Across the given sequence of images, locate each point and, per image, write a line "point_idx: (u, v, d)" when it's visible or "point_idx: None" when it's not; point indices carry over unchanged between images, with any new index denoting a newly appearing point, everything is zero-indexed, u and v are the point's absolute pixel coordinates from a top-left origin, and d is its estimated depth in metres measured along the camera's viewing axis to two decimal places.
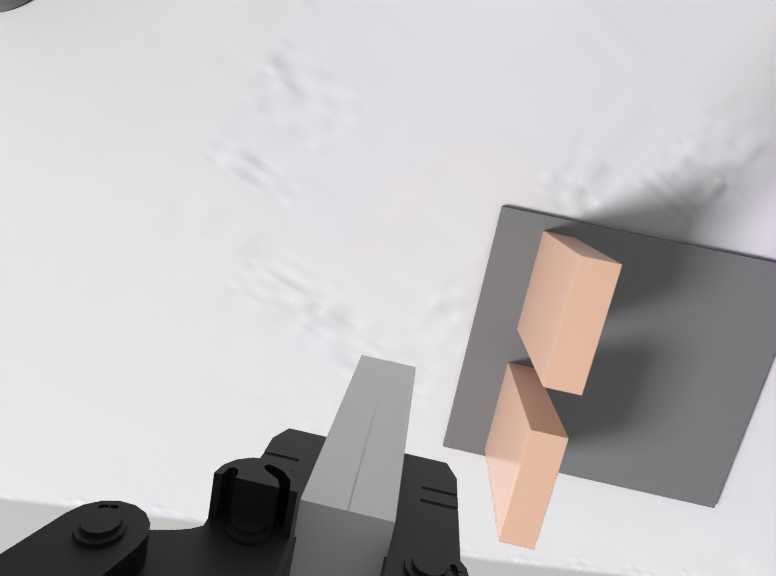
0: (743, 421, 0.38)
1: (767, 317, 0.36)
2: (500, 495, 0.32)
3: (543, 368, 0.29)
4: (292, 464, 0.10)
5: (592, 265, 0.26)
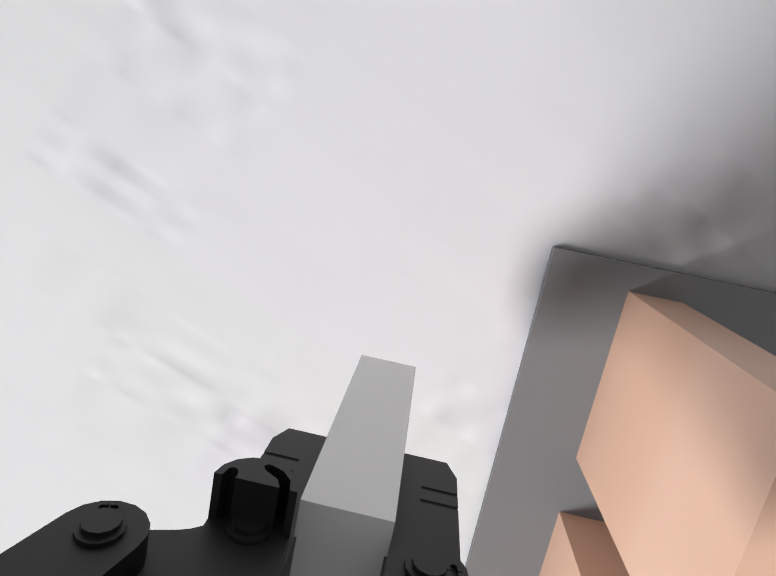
0: None
1: None
2: None
3: None
4: (292, 464, 0.10)
5: None
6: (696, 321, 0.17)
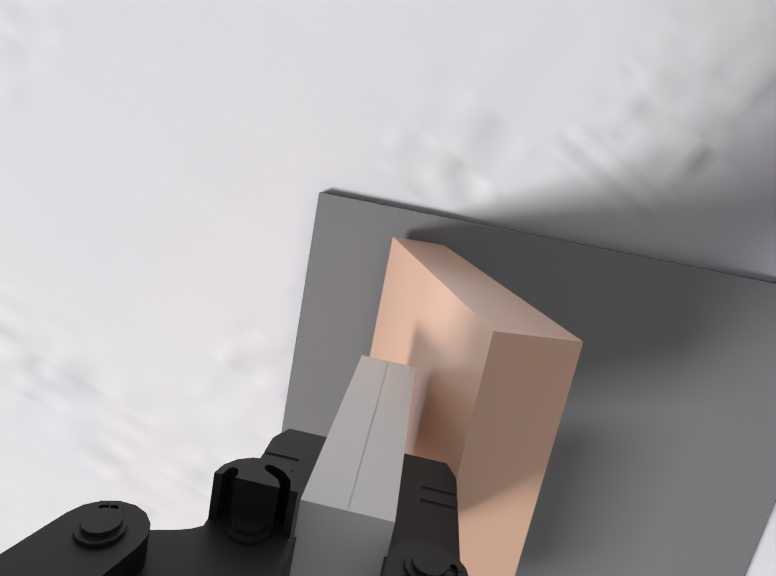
0: (744, 555, 0.22)
1: None
2: None
3: None
4: (292, 464, 0.10)
5: (519, 350, 0.11)
6: (444, 260, 0.17)
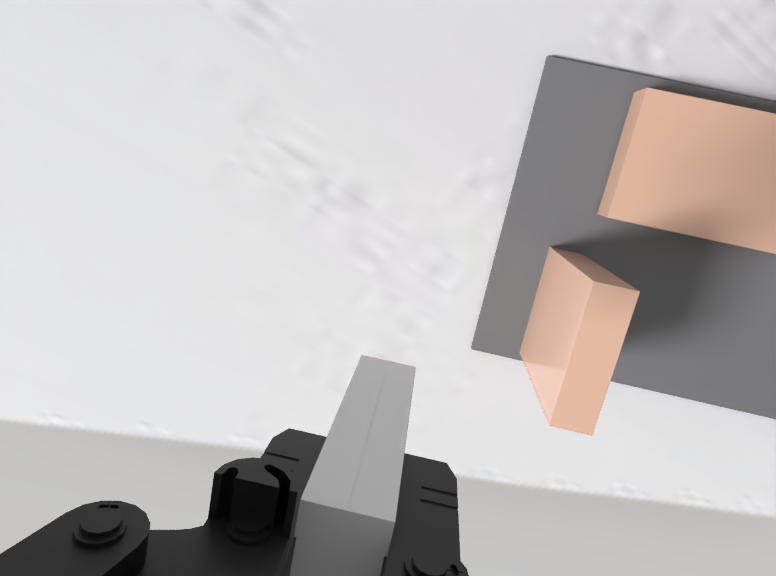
0: None
1: None
2: (548, 378, 0.27)
3: (775, 241, 0.30)
4: (292, 464, 0.10)
5: None
6: None
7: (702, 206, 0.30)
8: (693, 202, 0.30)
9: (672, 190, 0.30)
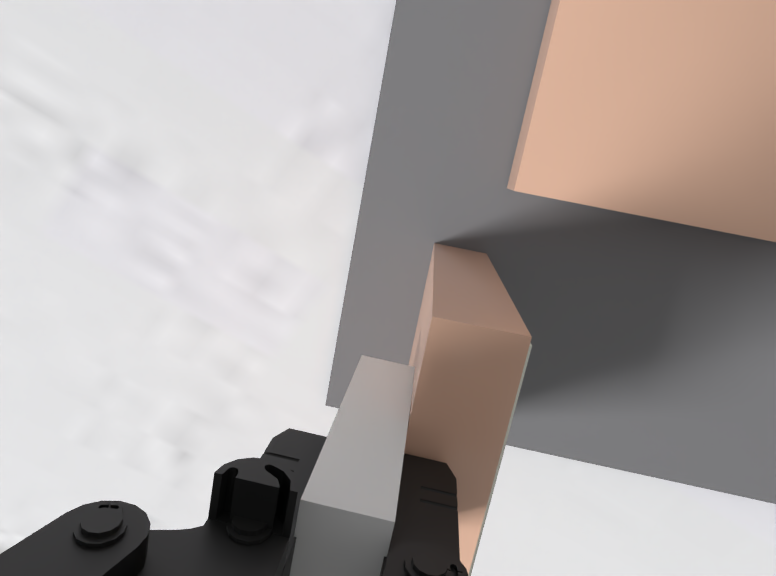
0: None
1: None
2: None
3: None
4: (292, 464, 0.10)
5: None
6: None
7: (676, 167, 0.17)
8: (660, 161, 0.17)
9: (623, 140, 0.17)
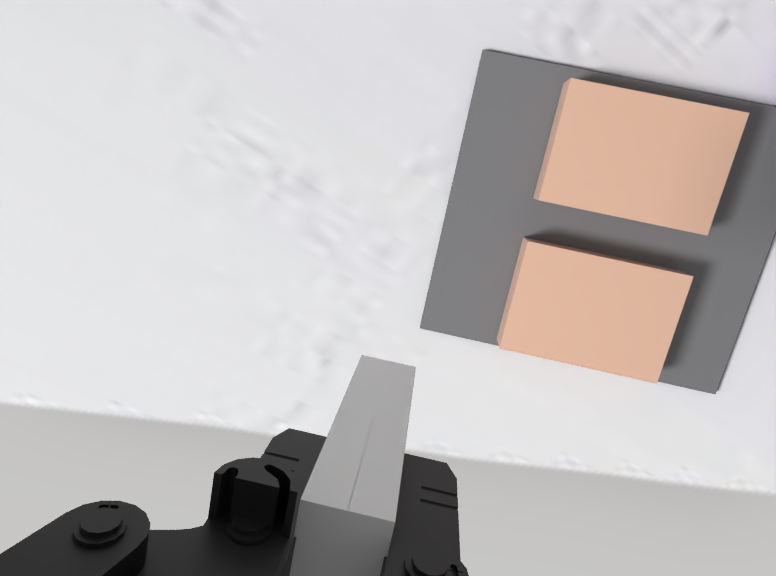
0: (747, 293, 0.34)
1: (773, 172, 0.33)
2: (627, 354, 0.34)
3: (695, 221, 0.32)
4: (292, 464, 0.10)
5: None
6: None
7: (626, 189, 0.32)
8: (618, 185, 0.32)
9: (598, 174, 0.32)
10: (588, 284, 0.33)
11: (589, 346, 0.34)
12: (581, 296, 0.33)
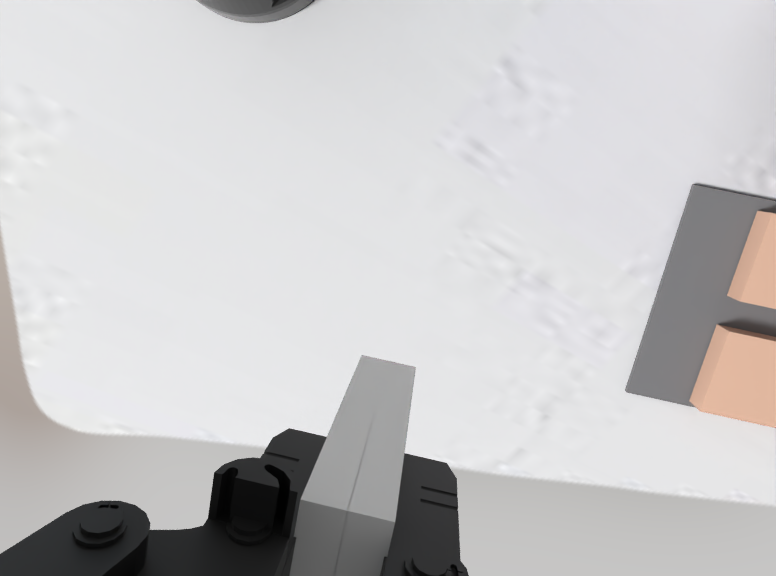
0: None
1: None
2: None
3: None
4: (292, 464, 0.10)
5: None
6: None
7: None
8: None
9: None
10: (774, 364, 0.43)
11: (772, 410, 0.44)
12: (768, 373, 0.43)
